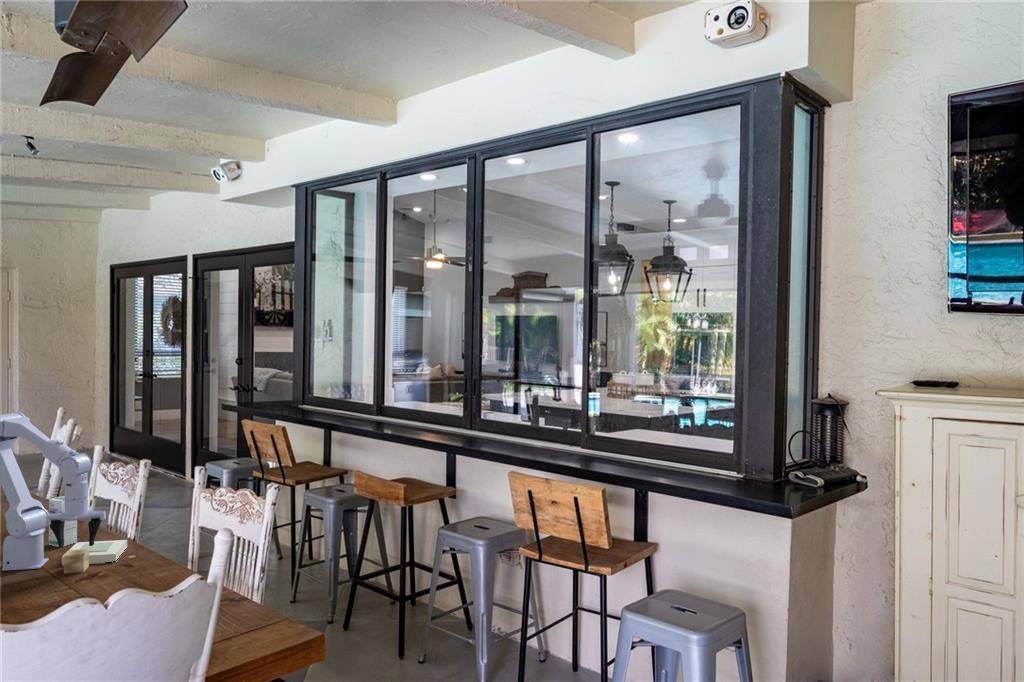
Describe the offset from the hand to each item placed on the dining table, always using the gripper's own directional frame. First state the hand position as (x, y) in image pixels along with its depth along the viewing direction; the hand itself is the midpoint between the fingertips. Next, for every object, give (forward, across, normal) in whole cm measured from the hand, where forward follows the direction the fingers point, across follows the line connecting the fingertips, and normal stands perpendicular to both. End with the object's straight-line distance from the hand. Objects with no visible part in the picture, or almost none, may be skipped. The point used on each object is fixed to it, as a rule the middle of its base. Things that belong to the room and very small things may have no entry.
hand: (76, 545), depth 213 cm
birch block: (+7, 0, 0) cm, 7 cm away
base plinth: (+7, +2, +12) cm, 13 cm away
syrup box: (+7, -11, +26) cm, 30 cm away
